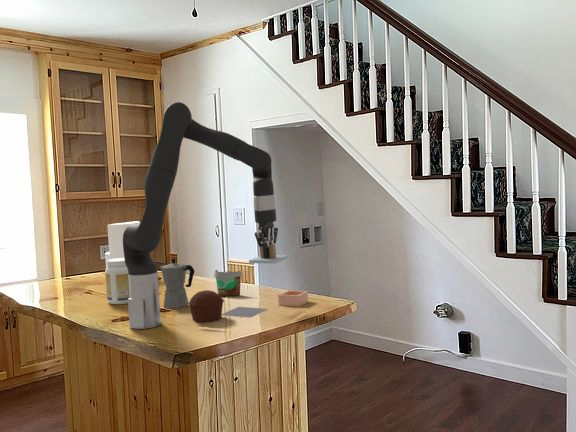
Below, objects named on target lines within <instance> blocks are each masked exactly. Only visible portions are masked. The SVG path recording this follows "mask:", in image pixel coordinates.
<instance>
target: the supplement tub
mask: <svg viewBox="0 0 576 432" xmlns="http://www.w3.org/2000/svg"><path fill="white" fill-rule="evenodd" d="M107 265H108V267H107V268H106V267H105V271H104V273H105V287H106V300H107V303H109V304H110V305H124V304H125V305H128V299H129V298H130V292H129V276H128V269H127V267H126V264H125V259H124V258H116V259H110V260H107Z"/></svg>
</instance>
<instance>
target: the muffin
mask: <svg viewBox="0 0 576 432" xmlns="http://www.w3.org/2000/svg"><path fill="white" fill-rule="evenodd" d="M224 302H225V300H224V299H223V297H221V296H220V295H219V294H218V292H216V291H214V290H206V289H205V290H201V291H197V292H196V293H195V294H194V295H193V296H192V297H191V298H190V300H188V303H189V304H188V306H189V308H190V313H191V317H192V321H194V322H195V323H200V324H201V323H203V324H204V323H212V322H216V321H220V319H222V316H223V315H222V314H223V304H224Z"/></svg>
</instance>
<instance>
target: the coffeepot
mask: <svg viewBox="0 0 576 432" xmlns="http://www.w3.org/2000/svg"><path fill="white" fill-rule="evenodd" d="M170 260H171V263H169V264H165V265H162V266H159V267H158V268H159V269H160V270H161V273H162V278H163V284H164V286H165V291H164V301H163V307H164V308H165V309H169V310H173V309H175V310H176V309H182V308H183V309H184V308H186V307H188V306H189V299H188V296H187V295H188V294H187V291H186V288H190V287H192V283H193V278H194V275H195V269H194V267H193V266H192V265H191V264H181V263H176V258H173V257H172V258H170ZM187 271H189V277H188V280H187V281H188V282H187V284H185V283H186V274H187V273H186V272H187ZM185 287H186V288H185Z"/></svg>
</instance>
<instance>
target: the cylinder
mask: <svg viewBox="0 0 576 432" xmlns="http://www.w3.org/2000/svg"><path fill="white" fill-rule="evenodd" d="M136 223H138V224H140V223H141V221H138V220H137V221H127V222H118V223H110V224H107V239H108V240H107V241H108V251H107V252H105V253H104V254H105V255H104V258H105V269H106V268H107V267H108V265H107V260H110V259H116V258H124V250H123V233H124V231H125V229H126V228H127V227H128V226H129V225H131V224H136Z"/></svg>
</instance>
